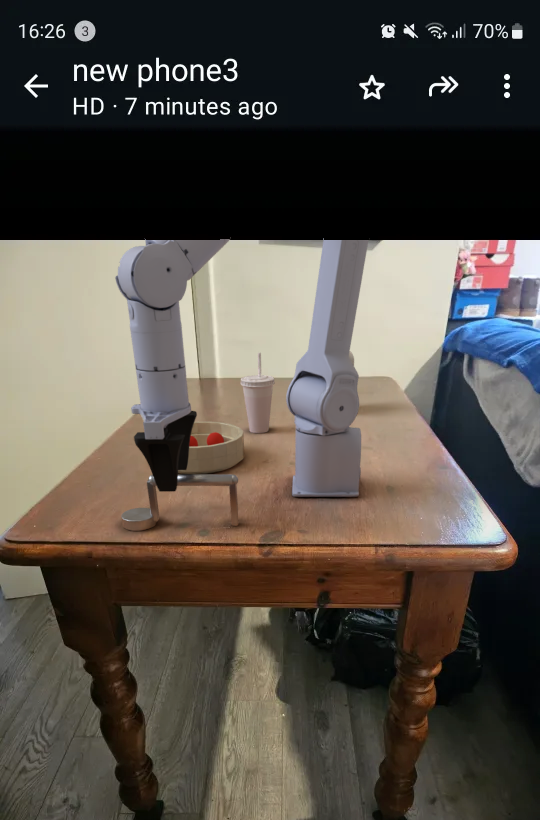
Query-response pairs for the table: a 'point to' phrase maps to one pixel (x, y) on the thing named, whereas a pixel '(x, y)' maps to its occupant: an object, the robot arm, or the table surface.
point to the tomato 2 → (215, 438)
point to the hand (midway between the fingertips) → (173, 479)
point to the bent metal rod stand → (149, 516)
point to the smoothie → (258, 399)
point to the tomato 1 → (193, 442)
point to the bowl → (214, 448)
